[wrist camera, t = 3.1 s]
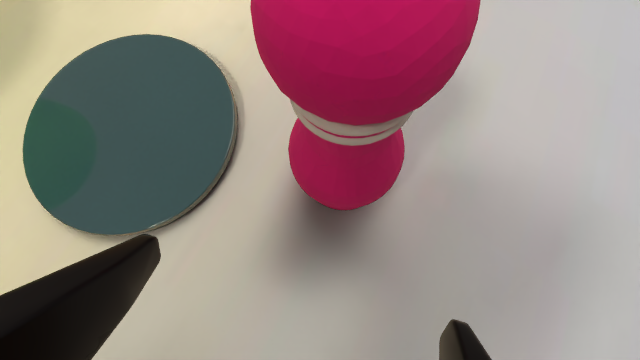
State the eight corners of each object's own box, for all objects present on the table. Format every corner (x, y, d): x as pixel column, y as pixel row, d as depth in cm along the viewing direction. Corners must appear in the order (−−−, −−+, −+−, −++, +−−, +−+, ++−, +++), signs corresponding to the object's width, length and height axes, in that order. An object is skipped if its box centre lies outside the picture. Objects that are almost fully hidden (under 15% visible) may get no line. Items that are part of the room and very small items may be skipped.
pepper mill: (278, 162, 24) (64, -203, 5) (350, 110, 25) (406, -380, 6) (335, 236, 23) (345, 122, 3) (409, 178, 24) (760, -183, 4)
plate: (273, 172, 24) (270, 168, 23) (67, 276, 23) (53, 277, 22) (194, 13, 28) (188, 3, 27) (15, 95, 27) (1, 87, 26)
